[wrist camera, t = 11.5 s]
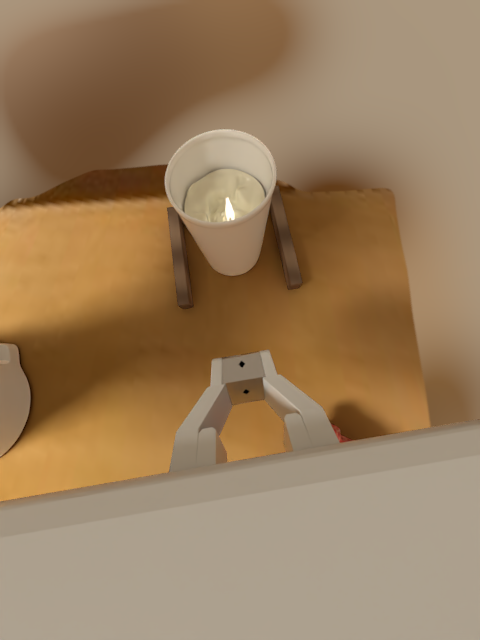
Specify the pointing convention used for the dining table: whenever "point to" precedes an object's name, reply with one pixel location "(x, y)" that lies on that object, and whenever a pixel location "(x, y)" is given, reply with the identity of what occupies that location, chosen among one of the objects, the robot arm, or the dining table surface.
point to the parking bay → (281, 235)
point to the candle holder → (223, 196)
